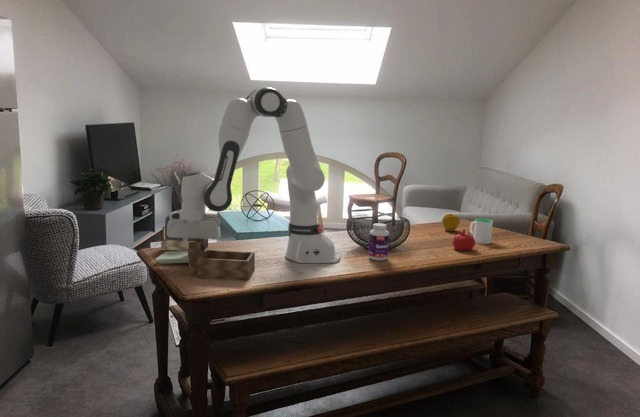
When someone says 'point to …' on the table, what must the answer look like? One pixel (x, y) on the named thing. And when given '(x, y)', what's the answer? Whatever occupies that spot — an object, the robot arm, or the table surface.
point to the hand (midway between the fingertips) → (194, 249)
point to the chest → (219, 262)
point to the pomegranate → (463, 241)
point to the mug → (482, 230)
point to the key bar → (175, 245)
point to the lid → (173, 257)
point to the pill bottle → (378, 242)
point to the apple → (450, 222)
